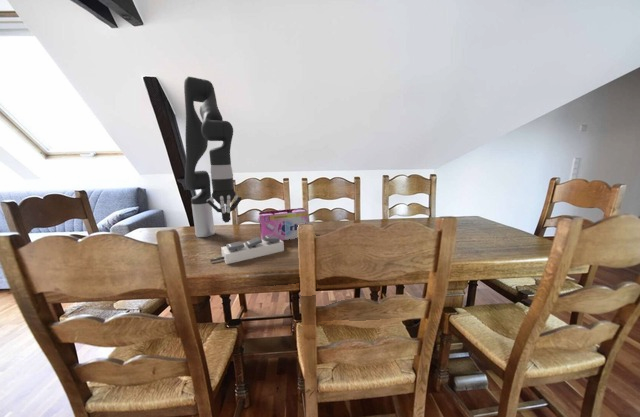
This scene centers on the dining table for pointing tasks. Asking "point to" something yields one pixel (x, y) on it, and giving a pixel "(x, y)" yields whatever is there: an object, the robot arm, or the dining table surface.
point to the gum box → (282, 222)
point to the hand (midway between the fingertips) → (226, 221)
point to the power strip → (250, 251)
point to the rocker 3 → (271, 238)
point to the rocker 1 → (235, 245)
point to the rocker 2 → (253, 242)
